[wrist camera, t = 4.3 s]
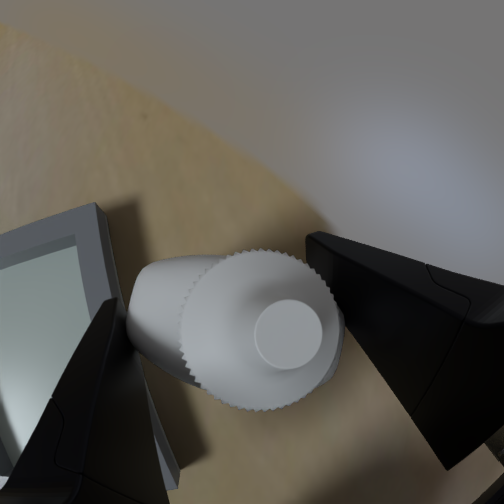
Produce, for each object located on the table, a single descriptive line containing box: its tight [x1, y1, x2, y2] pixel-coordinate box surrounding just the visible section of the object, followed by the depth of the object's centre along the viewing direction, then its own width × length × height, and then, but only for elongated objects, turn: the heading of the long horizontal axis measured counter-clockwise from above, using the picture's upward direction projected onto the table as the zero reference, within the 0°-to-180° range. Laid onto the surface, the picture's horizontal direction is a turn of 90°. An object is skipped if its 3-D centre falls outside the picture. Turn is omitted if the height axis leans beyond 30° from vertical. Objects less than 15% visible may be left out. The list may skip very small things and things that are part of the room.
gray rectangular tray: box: [0, 202, 180, 491], centre depth 12 cm, size 13×11×2 cm
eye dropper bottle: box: [126, 248, 345, 412], centre depth 9 cm, size 4×6×12 cm
